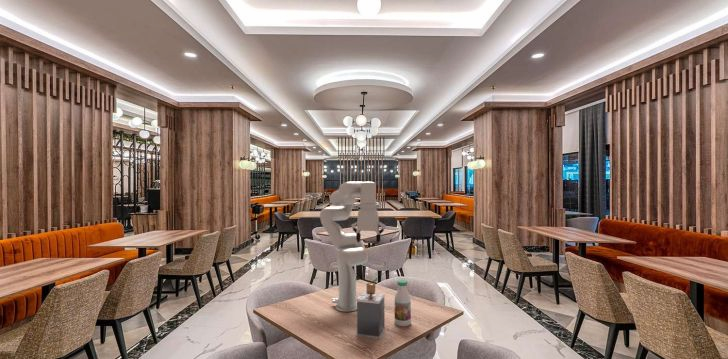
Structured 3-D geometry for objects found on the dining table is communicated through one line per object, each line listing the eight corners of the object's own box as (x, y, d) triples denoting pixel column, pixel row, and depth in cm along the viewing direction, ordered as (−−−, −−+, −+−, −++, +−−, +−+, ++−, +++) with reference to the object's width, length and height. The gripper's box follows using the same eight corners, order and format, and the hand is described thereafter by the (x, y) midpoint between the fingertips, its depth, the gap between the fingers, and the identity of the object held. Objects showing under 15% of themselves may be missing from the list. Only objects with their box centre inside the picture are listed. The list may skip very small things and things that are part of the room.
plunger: (359, 332, 137) (359, 286, 137) (365, 324, 145) (364, 280, 145) (377, 334, 134) (377, 287, 135) (382, 326, 142) (381, 282, 143)
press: (356, 336, 136) (356, 299, 136) (365, 323, 148) (364, 289, 149) (379, 339, 133) (379, 301, 133) (386, 326, 145) (386, 291, 146)
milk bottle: (393, 320, 152) (392, 279, 153) (408, 319, 153) (408, 278, 153) (396, 327, 144) (395, 283, 145) (412, 326, 145) (412, 283, 145)
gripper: (348, 207, 151) (348, 242, 150) (383, 207, 146) (383, 244, 145) (353, 206, 158) (353, 240, 157) (387, 206, 153) (387, 241, 152)
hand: (368, 242), depth 151 cm, fingers open, 9 cm apart
